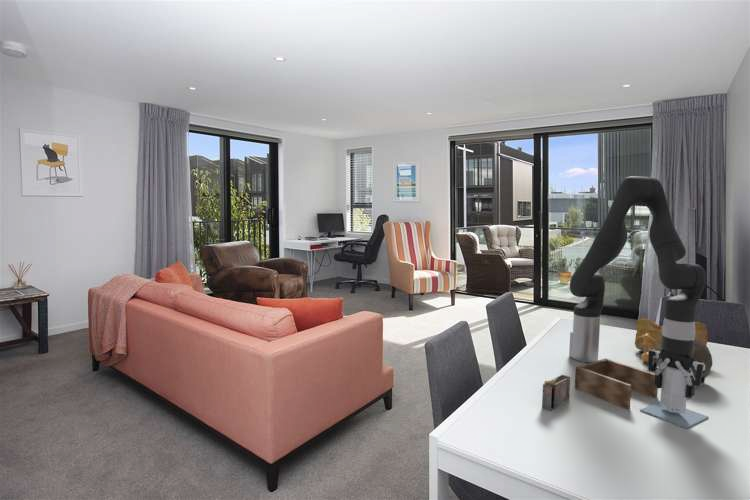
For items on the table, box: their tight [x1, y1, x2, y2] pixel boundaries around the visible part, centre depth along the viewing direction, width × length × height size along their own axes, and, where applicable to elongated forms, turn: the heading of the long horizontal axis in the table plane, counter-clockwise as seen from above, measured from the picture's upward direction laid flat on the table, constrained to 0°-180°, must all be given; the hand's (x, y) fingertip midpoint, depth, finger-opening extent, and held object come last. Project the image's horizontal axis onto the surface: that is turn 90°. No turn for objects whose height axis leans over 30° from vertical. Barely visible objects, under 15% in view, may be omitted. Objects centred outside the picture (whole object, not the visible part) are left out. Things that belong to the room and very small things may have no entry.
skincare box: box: [659, 366, 689, 413], centre depth 125 cm, size 6×4×12 cm
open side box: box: [574, 358, 659, 410], centre depth 140 cm, size 17×16×7 cm
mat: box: [639, 400, 710, 430], centre depth 126 cm, size 12×12×1 cm
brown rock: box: [660, 338, 713, 379], centre depth 150 cm, size 14×14×15 cm
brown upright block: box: [541, 373, 571, 412], centre depth 131 cm, size 11×3×10 cm, turn 131°
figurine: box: [634, 333, 660, 364], centre depth 165 cm, size 8×6×12 cm
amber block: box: [634, 318, 709, 353], centre depth 176 cm, size 23×17×15 cm
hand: (673, 392), depth 125 cm, fingers closed on skincare box, 7 cm apart
